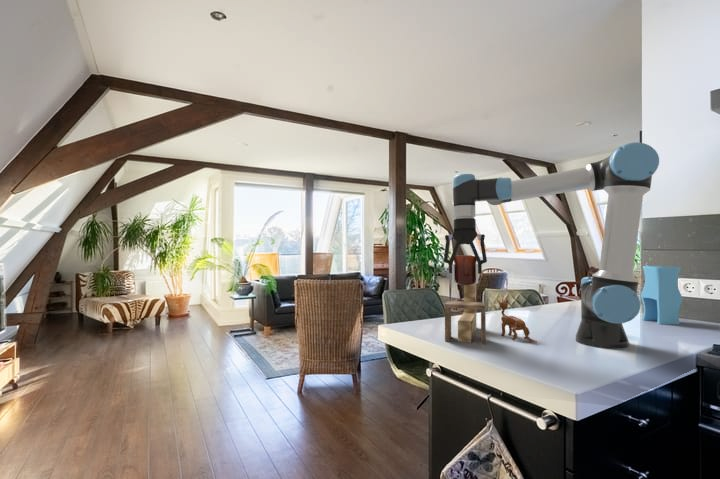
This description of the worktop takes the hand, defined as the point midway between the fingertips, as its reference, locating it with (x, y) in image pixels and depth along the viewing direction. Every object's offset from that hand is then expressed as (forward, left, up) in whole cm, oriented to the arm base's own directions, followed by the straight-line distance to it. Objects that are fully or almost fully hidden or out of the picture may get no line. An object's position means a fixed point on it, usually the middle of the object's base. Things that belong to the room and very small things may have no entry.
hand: (465, 282), depth 129 cm
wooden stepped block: (0, -13, -21) cm, 24 cm away
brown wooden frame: (0, -2, -21) cm, 21 cm away
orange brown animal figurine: (-17, -10, -21) cm, 29 cm away
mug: (0, 0, -1) cm, 1 cm away
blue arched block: (-77, -60, -21) cm, 100 cm away
